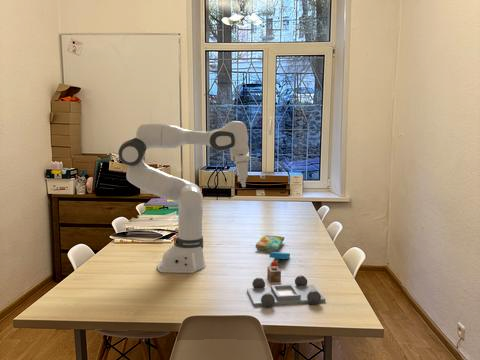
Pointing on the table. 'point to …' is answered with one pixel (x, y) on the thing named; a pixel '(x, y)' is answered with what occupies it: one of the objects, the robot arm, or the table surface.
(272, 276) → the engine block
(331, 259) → the table surface
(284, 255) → the lever
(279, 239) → the puzzle game
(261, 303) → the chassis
